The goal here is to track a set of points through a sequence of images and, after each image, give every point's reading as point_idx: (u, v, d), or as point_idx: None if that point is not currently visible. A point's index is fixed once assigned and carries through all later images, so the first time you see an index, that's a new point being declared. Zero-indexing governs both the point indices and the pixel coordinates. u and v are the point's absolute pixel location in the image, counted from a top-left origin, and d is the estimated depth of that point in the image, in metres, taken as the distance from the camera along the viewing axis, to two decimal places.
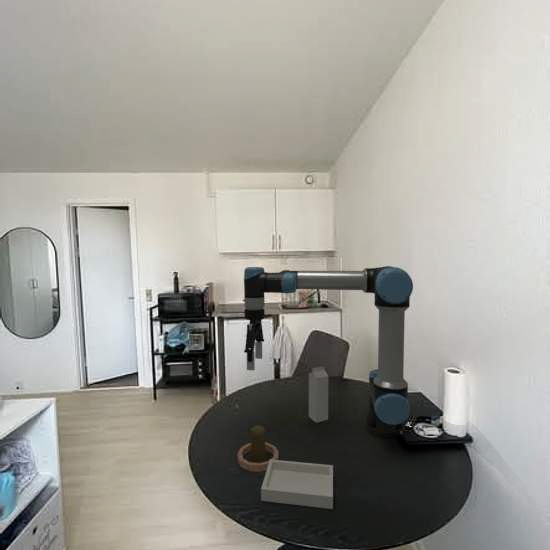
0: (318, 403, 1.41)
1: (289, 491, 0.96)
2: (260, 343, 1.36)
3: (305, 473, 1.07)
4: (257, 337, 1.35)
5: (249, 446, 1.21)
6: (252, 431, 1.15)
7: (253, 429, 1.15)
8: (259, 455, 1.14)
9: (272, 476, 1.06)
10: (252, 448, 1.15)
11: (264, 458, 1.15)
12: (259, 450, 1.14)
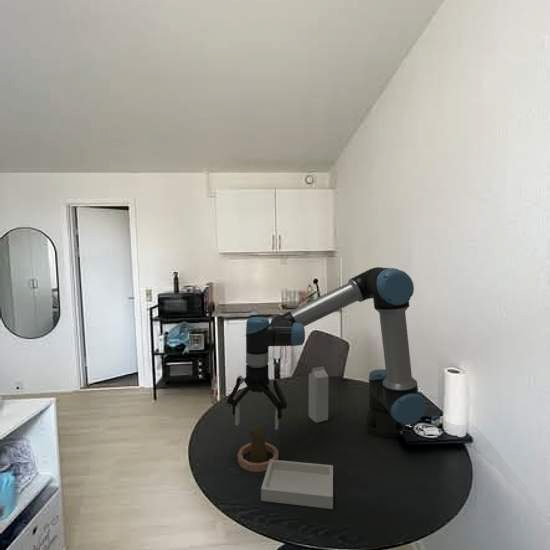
0: (318, 403, 1.41)
1: (289, 491, 0.96)
2: None
3: (305, 473, 1.07)
4: None
5: (249, 446, 1.21)
6: (252, 431, 1.15)
7: (253, 429, 1.15)
8: (259, 455, 1.14)
9: (272, 476, 1.06)
10: (252, 448, 1.15)
11: (264, 458, 1.15)
12: (259, 450, 1.14)
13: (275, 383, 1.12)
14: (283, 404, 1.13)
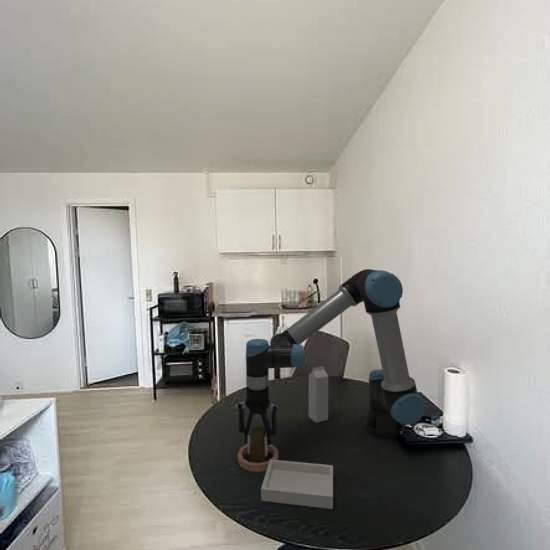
0: (318, 403, 1.41)
1: (289, 491, 0.96)
2: None
3: (305, 473, 1.07)
4: None
5: None
6: (252, 431, 1.15)
7: (253, 429, 1.15)
8: (259, 455, 1.14)
9: (272, 476, 1.06)
10: (252, 448, 1.15)
11: (264, 458, 1.15)
12: (259, 450, 1.14)
13: (275, 409, 1.13)
14: (273, 431, 1.14)
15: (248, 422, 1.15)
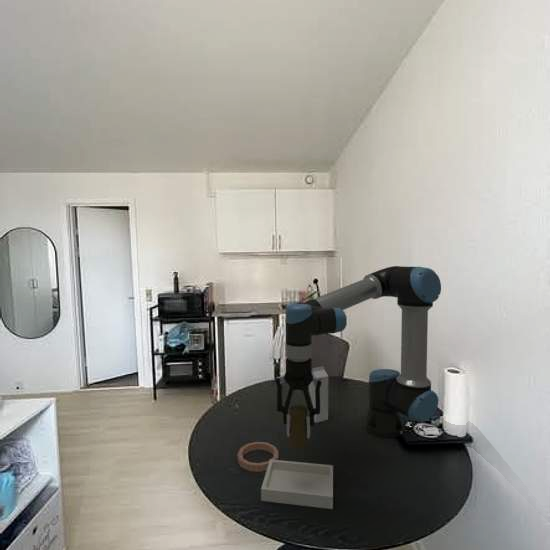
0: None
1: (289, 491, 0.96)
2: (307, 416, 1.00)
3: (305, 473, 1.07)
4: None
5: (249, 446, 1.21)
6: (292, 410, 0.99)
7: (293, 408, 1.00)
8: (301, 437, 0.99)
9: (272, 476, 1.06)
10: (292, 429, 1.00)
11: (306, 441, 1.00)
12: (301, 432, 0.99)
13: (319, 384, 0.98)
14: (317, 409, 0.99)
15: (288, 399, 1.00)
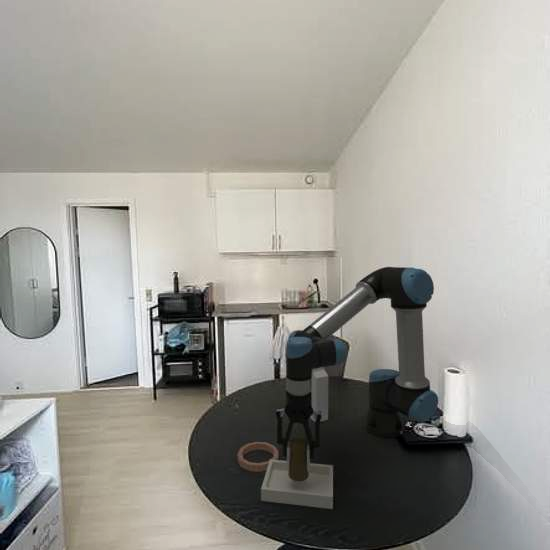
0: (318, 403, 1.41)
1: (289, 491, 0.96)
2: (307, 449, 1.00)
3: None
4: None
5: (249, 446, 1.21)
6: (292, 443, 1.00)
7: (293, 440, 1.01)
8: (301, 471, 0.99)
9: (272, 476, 1.06)
10: (292, 462, 1.00)
11: (306, 474, 1.00)
12: (300, 465, 0.99)
13: (319, 418, 0.99)
14: (317, 442, 0.99)
15: (288, 432, 1.00)
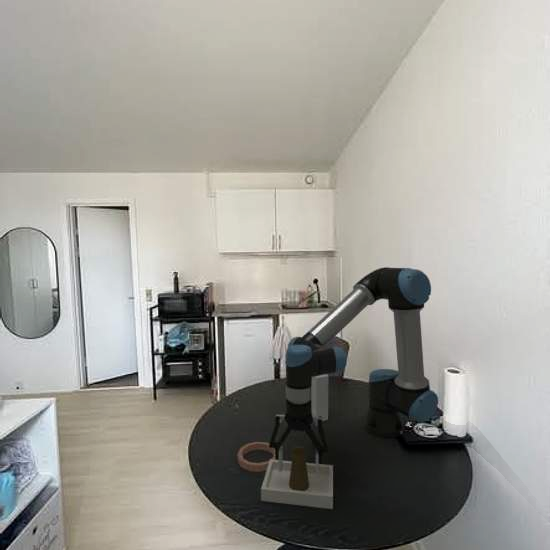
0: (318, 403, 1.41)
1: (289, 491, 0.96)
2: None
3: None
4: None
5: (249, 446, 1.21)
6: (293, 453, 1.00)
7: (293, 451, 1.01)
8: (301, 481, 0.99)
9: (272, 476, 1.06)
10: (293, 472, 1.00)
11: (306, 484, 1.00)
12: (301, 475, 1.00)
13: (320, 423, 0.99)
14: (325, 447, 0.99)
15: (283, 437, 1.01)
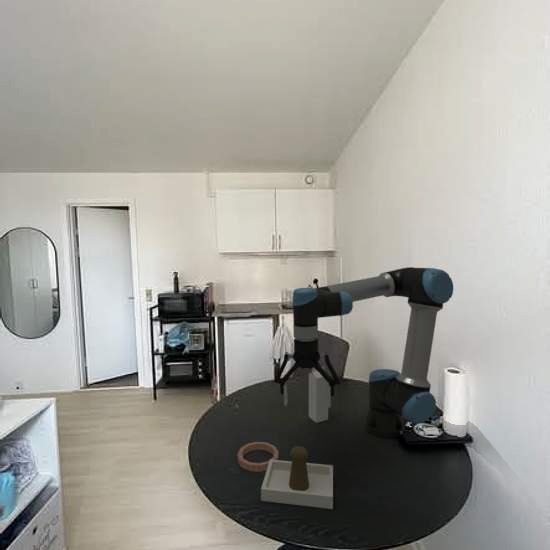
0: (318, 403, 1.41)
1: (289, 491, 0.96)
2: None
3: None
4: None
5: (249, 446, 1.21)
6: (293, 453, 1.00)
7: (293, 451, 1.01)
8: (301, 481, 0.99)
9: (272, 476, 1.06)
10: (293, 472, 1.00)
11: (306, 484, 1.00)
12: (301, 475, 1.00)
13: (327, 357, 1.04)
14: (336, 380, 1.04)
15: (289, 373, 1.06)
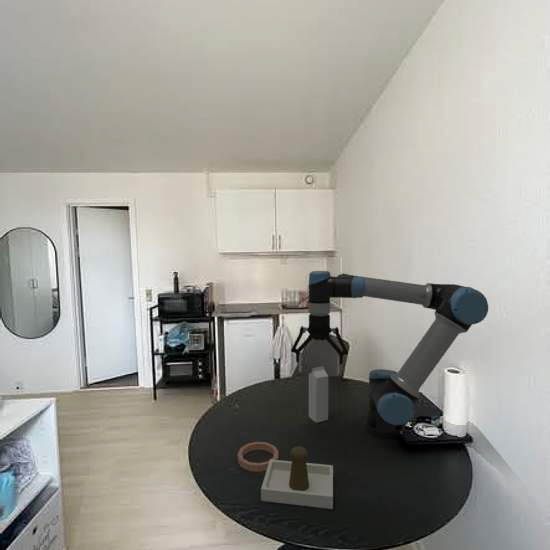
0: (318, 403, 1.41)
1: (289, 491, 0.96)
2: (337, 356, 1.22)
3: None
4: None
5: (249, 446, 1.21)
6: (293, 453, 1.00)
7: (293, 451, 1.01)
8: (301, 481, 0.99)
9: (272, 476, 1.06)
10: (293, 472, 1.00)
11: (306, 484, 1.00)
12: (301, 475, 1.00)
13: (337, 331, 1.21)
14: (345, 350, 1.21)
15: (304, 344, 1.23)
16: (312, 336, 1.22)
